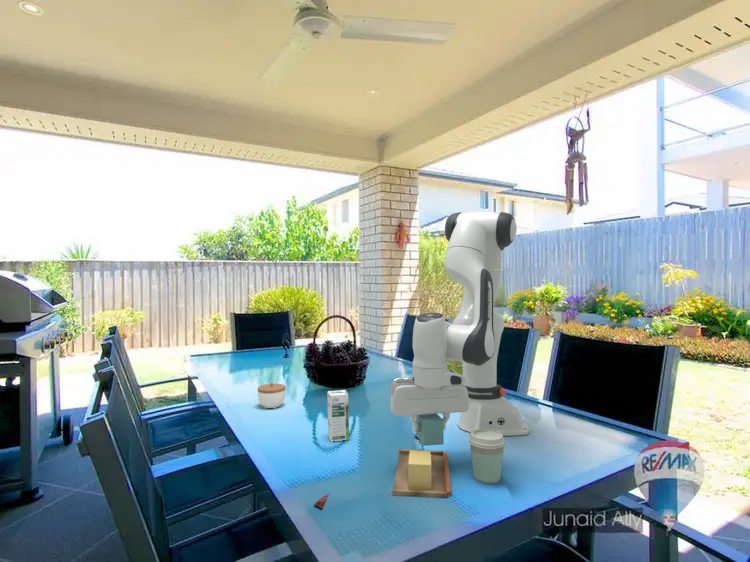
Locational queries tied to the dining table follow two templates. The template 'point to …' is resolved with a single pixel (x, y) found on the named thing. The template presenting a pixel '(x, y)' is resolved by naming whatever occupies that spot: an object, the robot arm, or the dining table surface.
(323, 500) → the snack package
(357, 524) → the dining table surface
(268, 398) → the lidded jar
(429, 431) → the teal box
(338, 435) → the syrup box
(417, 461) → the ochre box
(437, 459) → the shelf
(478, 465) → the coffee cup
